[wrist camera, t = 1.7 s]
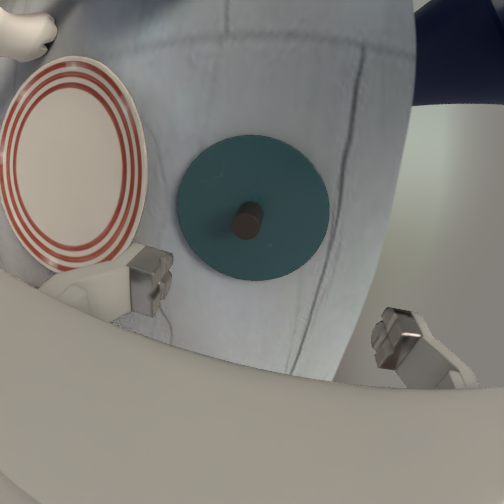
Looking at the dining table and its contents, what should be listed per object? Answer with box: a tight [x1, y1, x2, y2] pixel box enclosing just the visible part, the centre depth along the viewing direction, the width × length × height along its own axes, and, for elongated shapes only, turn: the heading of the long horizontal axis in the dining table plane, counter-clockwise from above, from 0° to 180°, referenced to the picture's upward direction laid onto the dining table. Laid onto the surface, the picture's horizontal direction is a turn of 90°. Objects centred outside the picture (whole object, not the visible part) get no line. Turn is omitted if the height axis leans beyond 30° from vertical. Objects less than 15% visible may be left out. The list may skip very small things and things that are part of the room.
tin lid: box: [177, 135, 329, 281], centre depth 25 cm, size 15×15×5 cm
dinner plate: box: [0, 56, 148, 273], centre depth 25 cm, size 28×27×3 cm
